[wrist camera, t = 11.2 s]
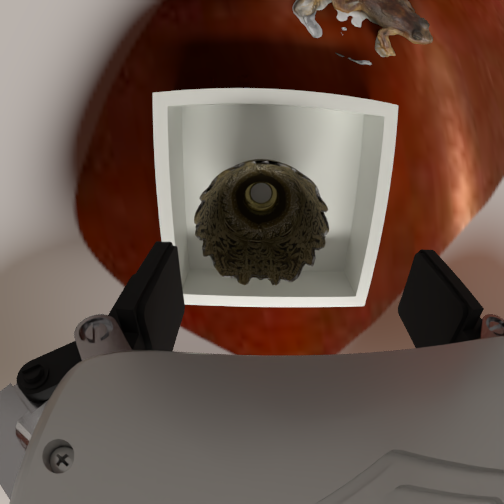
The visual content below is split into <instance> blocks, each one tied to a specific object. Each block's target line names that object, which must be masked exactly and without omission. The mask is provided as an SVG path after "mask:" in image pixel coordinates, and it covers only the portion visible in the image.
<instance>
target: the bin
mask: <svg viewBox="0 0 504 504" xmlns="http://www.w3.org/2000/svg"><path fill="white" fill-rule="evenodd" d="M397 118H398V105H395V104H390V103H385V102H380V101H375V100H370V99H364V98H358V97H351V96H344V95H337V94H329V93H320V92H311V91H299V90H285V89H264V88H211V89H191V90H177V91H165V92H156V93H153V136H154V158H155V175H156V188H157V201H158V212H159V222H160V231H161V240H162V242H172V244H173V246H177V248H178V256H179V265H180V273H181V281H182V289H183V297H184V304H189V305H212V306H243V307H348V306H364V305H365V302H366V298H367V294H368V290H369V287H370V283H371V279H372V275H373V270H374V266H375V262H376V258H377V253H378V248H379V244H380V239H381V234H382V229H383V224H384V218H385V213H386V207H387V201H388V195H389V189H390V182H391V175H392V167H393V159H394V151H395V141H396V130H397ZM254 159H269V160H274V161H278V162H281V163H284V164H287V165H289V166H291V167H293V168H295V169H296V170H298V171H299V172H301V173H302V174H304V175H305V176H307V177H308V178H309V179H311V180H312V181H313V182H314V183H315V185H316V186H317V188H318V190H319V194H320V197H321V198H322V200H323V201H324V202H325V203H326V205H327V208H328V211H327V212H324V214H325V216H326V218H327V221H328V224H329V232H328V233H327V235H325V236H326V237H325V241H326V243H325V247H324V248H322V249H320V250H315V257H316V259H315V263H314V265H313V266H308V265H307V264H305V266H304V267H303V269H302V271H301V274H300V275H299V277H298V278H297V279H296V280H295V281H293V282H288V281H285V280H282V279H281V280H280V282H279V284H278V285H272V284H271V281H269V280H268V279H263V280H259V279H257V278H251V279H250V281H249V284H247V285H242V284H240V283H238V282H237V279H235V278H227V277H222V276H221V275H220V274H219V273H218V271H217V270H216V268H215V267H214V266H213V261H212V259H211V257H210V256H207V257H204V256H203V250H202V245H203V241H201V240H199V238H197V237H196V236H195V231H196V227H195V226H196V224H195V223H194V216H195V213H196V210H197V209H198V207H199V205H200V204H201V200H200V199H199V198H200V196H201V194H202V193H203V192H204V191H205V190H206V189H207V188H208V187H209V185H210V184H211V182H212V181H213V179H214V178H215V177H216V176H217V175H219V174H220V173H221V172H223V171H224V170H226V169H228V168H231V167H233V166H235V165H237V164H240V163H242V162H245V161H248V160H254ZM251 197H252V199H253V200H254V201H256V202H258V203H264V202H267V201H268V200H269V199H270V197H271V189H270V187H269V186H268V185H266V184H264V183H258V184H256V185H254V186H253V187H252V189H251Z"/></svg>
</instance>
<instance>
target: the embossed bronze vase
mask: <svg viewBox="0 0 504 504" xmlns="http://www.w3.org/2000/svg"><path fill="white" fill-rule="evenodd" d="M258 183H264V184H266V185H268V186H269V187H270V189H271V197H270V199H269V200H268V201H267V202H264V203H258V202H256V201H254V200H253V199H252V197H251V189H252V187H253V186H254V185H256V184H258ZM199 199H200V200H201V204H200V205H199V207H198V209H197V210H196V213H195V216H194V223H195V224H196V226H195V227H196V231H195V236H196V237H197V238H199V240H201V241H203V245H202V250H203V256H204V257H207V256H210V257H211V259H212V261H213V266H214V267H215V268H216V270H217V271H218V273H219V274H220V275H221V276H222V277H227V278H235V279H237V282H238V283H240V284H242V285H247V284H249V281H250V279H251V278H257V279H259V280H263V279H268V280H269V281H271V284H272V285H278V284H279V282H280V280H281V279H282V280H285V281H288V282H293V281H295V280H296V279H297V278H298V277H299V275H300V274H301V271H302V269H303V267H304V266H305V264H307V265H308V266H313V265H314V263H315V259H316V257H315V250H320V249H322V248H324V247H325V243H326V241H325V237H326V236H325V235H327V233H328V232H329V224H328V221H327V218H326V216H325V214H324V212H327V211H328V208H327V205H326V203H325V202H324V201H323V200H322V198H321V197H320V194H319V190H318V188H317V186H316V185H315V183H314V182H313V181H312V180H311V179H309V178H308V177H307V176H305V175H304V174H302V173H301V172H299V171H298V170H296V169H295V168H293V167H291V166H289V165H287V164H284V163H281V162H278V161H274V160H269V159H254V160H248V161H245V162H242V163H240V164H237V165H235V166H233V167H231V168H228V169H226V170H224V171H223V172H221V173H220V174H219V175H217V176H216V177H215V178H214V179H213V181H212V182H211V184H210V185H209V187H208V188H207V189H206V190H205V191H204V192H203V193H202V194H201V196H200V198H199Z"/></svg>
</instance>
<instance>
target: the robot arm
mask: <svg viewBox="0 0 504 504" xmlns="http://www.w3.org/2000/svg"><path fill="white" fill-rule="evenodd" d="M184 309H185V304H184V297H183V289H182V281H181V273H180V265H179V256H178V248H177V246H173V244H172V242H156V243H155V244H154V246H153V247H152V249H151V251H150V252H149V254H148V255H147V257H146V258H145V260H144V262H143V263H142V265H141V266H140V268H139V269H138V271H137V273H136V274H134V275H133V276H132V277H131V278H130V280H129V281H128V283H127V285H126V286H125V288H124V290H123V292H122V293H121V295H120V296H119V298H118V300H117V302H116V303H115V305H114V306H113V308H112V310H111V311H110V313H109V315H104V314H98V315H93V316H90V317H88V318H86V319H84V320H83V321H82V322H80V323H79V324H78V326H77V327H76V329H75V332H74V337H75V341H74V342H72V343H70V344H67V345H65V346H63V347H61V348H58V349H56V350H54V351H52V352H50V353H47V354H45V355H43V356H40V357H38V358H36V359H34V360H31V361H29V362H28V363H26V364H25V365H24V366H23V367H22V368H21V369H20V371H19V373H18V376H17V384H16V385H14V386H12V384H11V383H10V384H9V385H8V386H7V387H5V388H4V389H3V390H2V391H0V485H1V486H2V488H3V489H4V491H5V493H6V494H7V496H8V497H9V499H10V504H504V320H503V319H502V318H500V317H499V316H496V315H493V314H488V315H485V316H484V317H483V319H481V318H480V315H481V313H482V311H483V308H482V306H481V305H480V303H479V302H478V301H477V300H476V298H475V297H474V296H473V295H472V293H471V292H470V291H469V290H468V289H467V288H466V286H465V285H464V284H463V283H462V282H461V280H460V279H459V278H458V277H457V276H456V275H455V273H454V272H453V271H452V270H451V269H450V268H449V267H448V266H447V264H446V263H445V262H444V261H443V260H442V259H441V258H440V257H439V256H438V255H437V253H436V252H435V251H433V250H420V251H419V252H418V253H416V255H415V257H414V260H413V263H412V267H411V270H410V273H409V276H408V280H407V283H406V286H405V289H404V292H403V295H402V297H401V300H400V303H399V306H398V313H399V316H400V318H401V320H402V321H403V323H404V325H405V327H406V329H407V331H408V333H409V335H410V337H411V339H412V341H413V343H414V345H415V347H416V348H414V349H405V350H395V351H384V352H372V353H358V354H338V355H309V356H256V355H226V354H207V353H191V352H173V351H172V350H173V347H174V344H175V340H176V337H177V334H178V330H179V327H180V324H181V321H182V317H183V314H184Z"/></svg>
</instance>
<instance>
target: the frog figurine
mask: <svg viewBox="0 0 504 504" xmlns="http://www.w3.org/2000/svg"><path fill="white" fill-rule="evenodd" d="M331 2H332V4H333V6H334V8H335V9H336V10H337V12H338V15H337V19H338V20H339V21H345V20H347V17H348V16H352V17H353V19H352V21H351V22H352V24H353V25H354V26H356V27H361V23H362V21H363V20H364V19H366V18H367V19H369V20H370V21H371V22H373V23H375V24H378V25H380V26H381V27H382V29H380V30H379V31H378V35H377V38H376V42H375V50H376V51H377V53H378V54H379V55H380V56H382V57H389V56H395V52H394V50H393V48H392V47H391V44H390V40H389V38H388V36H389V35H396V34H399V35H402V36H403V37H405V38H407V39H408V40H409V41H411V42H412V43H415V44H430V43H431V42H432V41H433V37H432V36H431V34H430V32H429V29H428V28H429V23H428V22H427V20H425V19H424V18H421V17H420V16H419V15H417V14H416V13H415V10H414V9H413V8H412V6H411V4H410V2H409V1H408V0H296V1H295V3H294V4H293V12H294V13H295V15H296V16H297V17H298V18H299V19H300V21H301V22H302V23H303V24H304V25H305V26H306V28H307V29H308V31H309V33H310V34H311V35H312V36H313V37H315V38H319V37H321V36H322V29H321V27H320V25H319V24H318V23H317V22H316V21H315V19H314V18H315V14H316V10H322V9H324V8H325V7H326V5H327V4H328V3H331ZM342 30H347V29H346V28H345V27H343V28H342ZM342 35H343V34H342ZM336 54H337V55H339V56H341V57H344V56H343V55H341V54H338V53H336ZM348 59H350V60H352V61H354V62H356V63H358V64H362V65H363V64H368V65H371V64H372V63H371V62H370V61H366V60H362V61H358V60H357V61H356V60H353V59H351V58H348Z"/></svg>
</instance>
